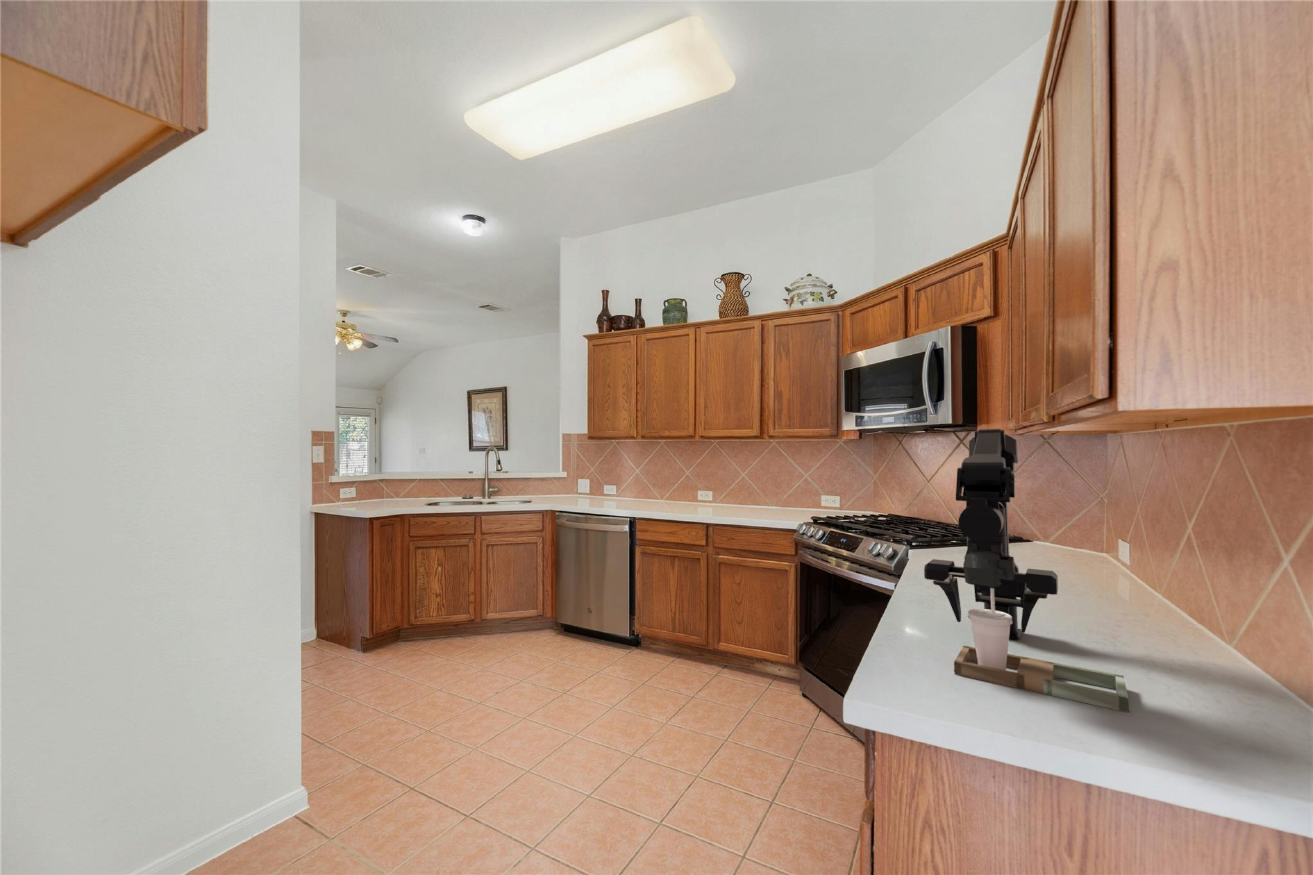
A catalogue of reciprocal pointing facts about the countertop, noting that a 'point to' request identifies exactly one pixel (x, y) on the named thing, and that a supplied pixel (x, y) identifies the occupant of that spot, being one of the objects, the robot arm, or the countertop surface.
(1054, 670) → the caddy
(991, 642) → the smoothie
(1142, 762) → the countertop surface
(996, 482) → the robot arm
